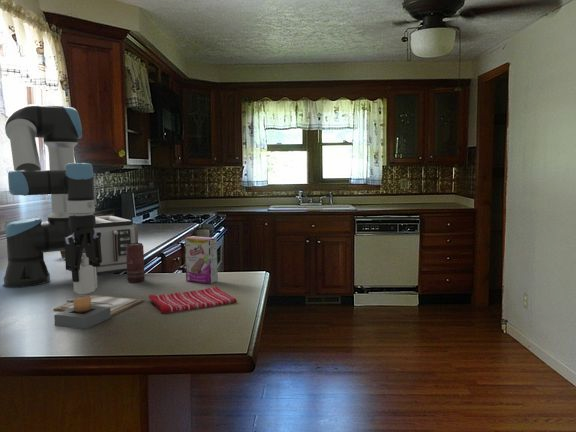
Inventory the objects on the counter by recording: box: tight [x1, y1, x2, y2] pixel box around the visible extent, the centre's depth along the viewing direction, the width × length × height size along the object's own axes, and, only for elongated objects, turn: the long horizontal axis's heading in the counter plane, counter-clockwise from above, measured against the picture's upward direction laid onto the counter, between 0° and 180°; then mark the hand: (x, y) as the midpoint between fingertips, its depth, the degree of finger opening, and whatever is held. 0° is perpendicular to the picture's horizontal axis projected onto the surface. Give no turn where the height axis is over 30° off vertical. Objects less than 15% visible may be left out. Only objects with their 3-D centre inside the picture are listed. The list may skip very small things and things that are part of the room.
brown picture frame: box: [53, 294, 145, 317], centre depth 147 cm, size 22×16×1 cm
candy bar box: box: [184, 235, 219, 285], centre depth 176 cm, size 11×5×16 cm, turn 65°
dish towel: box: [148, 286, 238, 315], centre depth 150 cm, size 17×24×3 cm
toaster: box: [81, 215, 139, 276], centre depth 204 cm, size 19×35×20 cm, turn 37°
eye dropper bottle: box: [76, 253, 96, 295], centre depth 147 cm, size 4×6×12 cm
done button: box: [72, 295, 91, 311], centre depth 131 cm, size 4×4×3 cm
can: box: [126, 242, 146, 284], centre depth 178 cm, size 6×6×14 cm
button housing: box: [53, 305, 112, 330], centre depth 131 cm, size 10×10×3 cm
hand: (85, 289), depth 147 cm, fingers closed on eye dropper bottle, 6 cm apart
